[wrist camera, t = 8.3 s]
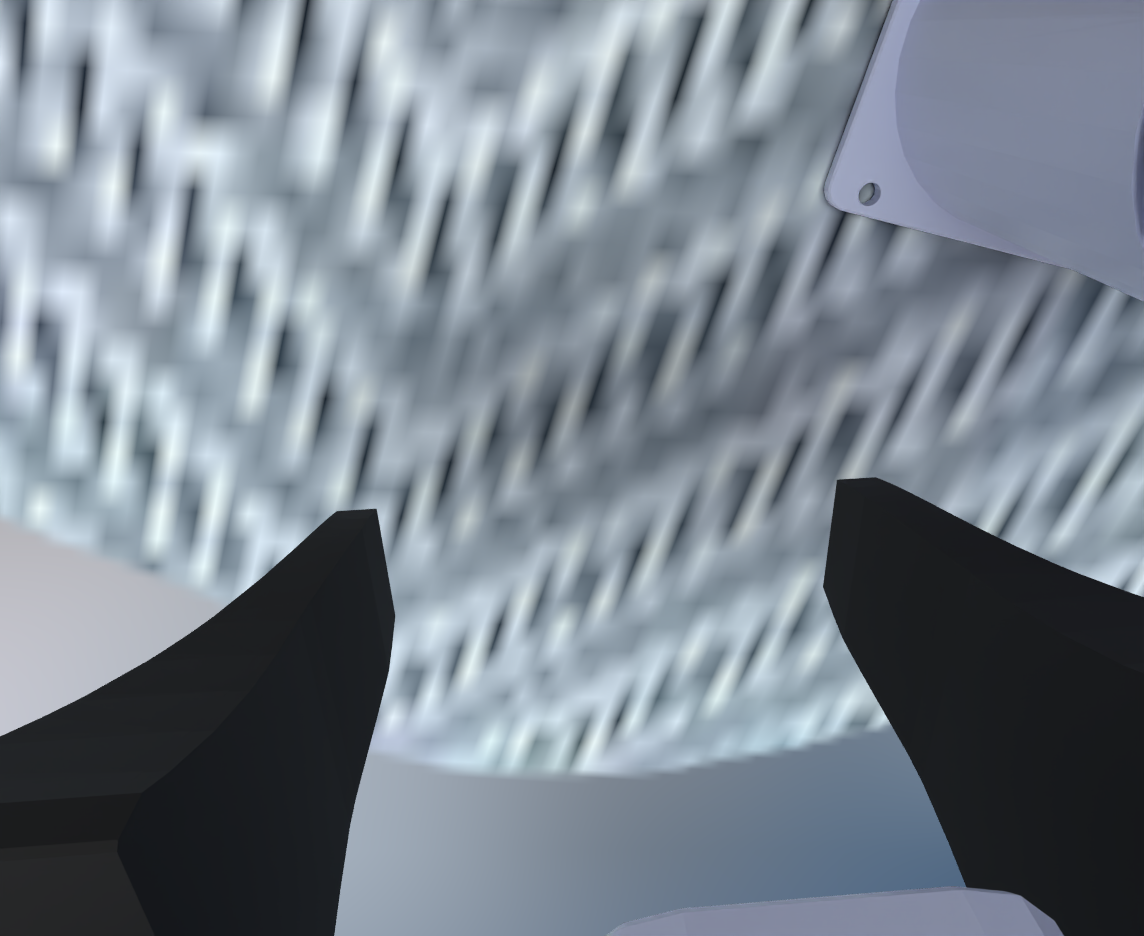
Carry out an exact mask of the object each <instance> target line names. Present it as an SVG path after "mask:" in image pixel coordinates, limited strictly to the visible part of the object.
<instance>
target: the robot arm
mask: <svg viewBox="0 0 1144 936" xmlns="http://www.w3.org/2000/svg"><path fill="white" fill-rule="evenodd" d="M867 183H873V184H874V187H875V192H874V195H873V197H872V198H871V199H870V200H869V201H867V202H865V203H860V201H859V199H858V196H859V191H860V190H861V188H862V187H863V186H864V185H866V184H867ZM824 193H825V198H826V200H827V201H828V202H829V204H830V205H832V206H833V207H835V208H837V209H839V210H841V211H845V212H849V213H853V214H857V215H861V216H865V217H869V218H872V219H876V220H880V221H884V222H888V223H892V224H896V225H900V226H904V227H908V228H912V229H915V230H919V231H923V232H927V233H931V234H935V235H939V236H943V237H947V238H951V239H955V240H958V241H962V242H966V243H970V244H974V245H978V246H982V247H986V248H990V249H994V250H998V251H1001V252H1005V253H1009V254H1013V255H1017V256H1021V257H1025V258H1029V259H1033V260H1037V261H1040V262H1044V263H1048V264H1052V265H1056V266H1060V267H1064V268H1068V269H1072V270H1074V271H1076V272H1079V273H1081V274H1083V275H1085V276H1088V277H1090V278H1092V279H1094V280H1097V281H1099V282H1101V283H1103V284H1106V285H1108V286H1110V287H1112V288H1114V289H1117V290H1119V291H1121V292H1123V293H1126V294H1128V295H1130V296H1132V297H1135V298H1137V299H1139V300H1141V301H1144V0H893V2H892V4H891V7H890V10H889V12H888V15H887V18H886V20H885V23H884V26H883V28H882V31H881V34H880V36H879V39H878V42H877V45H876V47H875V50H874V53H873V55H872V58H871V61H870V63H869V66H868V69H867V71H866V74H865V77H864V79H863V82H862V85H861V88H860V90H859V93H858V96H857V98H856V101H855V104H854V106H853V109H852V112H851V114H850V117H849V120H848V123H847V125H846V128H845V131H844V133H843V136H842V139H841V141H840V144H839V147H838V149H837V152H836V155H835V157H834V160H833V163H832V166H831V168H830V171H829V174H828V176H827V179H826V182H825V187H824ZM823 588H824V591H825V593H826V596H827V599H828V602H829V604H830V607H831V610H832V613H833V615H834V618H835V620H836V623H837V625H838V628H839V630H840V633H841V635H842V638H843V640H844V642H845V644H846V645H847V647H848V649H849V651H850V653H851V655H852V656H853V658H854V660H855V662H856V664H857V665H858V667H859V669H860V671H861V673H862V674H863V676H864V678H865V680H866V682H867V683H868V685H869V687H870V689H871V690H872V692H873V694H874V696H875V697H876V699H877V701H878V702H879V704H880V706H881V708H882V709H883V711H884V713H885V715H886V716H887V718H888V720H889V722H890V724H891V725H892V727H893V729H894V730H895V732H896V734H897V736H898V737H899V739H900V741H901V743H902V744H903V746H904V748H905V750H906V752H907V753H908V755H909V757H910V759H911V760H912V763H913V765H914V767H915V769H916V770H917V772H918V775H919V776H920V778H921V780H922V783H923V785H924V787H925V789H926V792H927V794H928V796H929V798H930V801H931V803H932V805H933V807H934V810H935V812H936V815H937V817H938V819H939V822H940V824H941V826H942V829H943V831H944V833H945V835H946V838H947V840H948V842H949V845H950V847H951V850H952V852H953V855H954V857H955V860H956V862H957V865H958V867H959V870H960V872H961V875H962V877H963V880H964V882H965V885H966V887H967V888H966V887H956V886H951V887H937V888H925V889H913V890H901V891H888V892H876V893H864V894H852V895H840V896H827V897H815V898H803V899H791V900H779V901H767V902H754V903H743V904H730V905H718V906H706V907H693V908H681V909H677V910H673V911H669V912H665V913H661V914H657V915H653V916H649V917H645V918H641V919H637V920H633V921H629V922H625V923H623V924H621V925H620V926H618V927H617V928H616V929H614V930H613V931H611V932H610V933H609V934H607V935H606V936H1144V597H1141V596H1138V595H1135V594H1132V593H1129V592H1127V591H1124V590H1121V589H1119V588H1116V587H1113V586H1110V585H1108V584H1105V583H1102V582H1100V581H1097V580H1094V579H1092V578H1089V577H1086V576H1084V575H1081V574H1078V573H1076V572H1074V571H1071V570H1069V569H1066V568H1064V567H1061V566H1059V565H1057V564H1054V563H1052V562H1050V561H1048V560H1045V559H1043V558H1041V557H1039V556H1036V555H1034V554H1032V553H1030V552H1028V551H1025V550H1023V549H1021V548H1019V547H1016V546H1014V545H1012V544H1010V543H1008V542H1006V541H1004V540H1002V539H1000V538H998V537H996V536H994V535H991V534H989V533H987V532H985V531H983V530H981V529H979V528H977V527H976V526H974V525H972V524H970V523H968V522H966V521H964V520H962V519H960V518H958V517H956V516H954V515H952V514H950V513H948V512H946V511H944V510H942V509H941V508H939V507H937V506H935V505H933V504H931V503H929V502H927V501H925V500H923V499H921V498H919V497H917V496H915V495H913V494H911V493H909V492H907V491H905V490H903V489H901V488H899V487H897V486H895V485H893V484H891V483H888V482H886V481H884V480H881V479H878V478H876V477H875V478H859V479H843V480H837V485H836V493H835V500H834V508H833V516H832V523H831V531H830V538H829V546H828V553H827V561H826V569H825V576H824V584H823ZM394 622H395V612H394V606H393V600H392V595H391V589H390V583H389V577H388V572H387V566H386V560H385V554H384V549H383V543H382V537H381V532H380V526H379V520H378V514H377V509H365V510H349V511H337V512H335V513H334V514H333V515H332V516H330V517H329V518H328V519H327V520H326V521H325V522H323V523H322V524H321V525H320V526H319V527H318V528H317V529H316V530H315V531H313V532H312V533H311V534H310V535H309V536H308V537H307V538H306V539H305V540H304V541H303V542H301V543H300V544H299V545H298V546H297V547H296V548H295V549H294V550H293V551H292V552H290V553H289V554H288V555H287V556H286V557H285V558H284V559H283V560H281V561H280V562H279V563H278V564H277V565H276V566H275V567H274V568H272V569H271V570H270V571H269V572H268V573H267V574H266V575H265V576H263V577H262V578H261V579H260V580H259V581H257V582H256V583H255V584H254V585H252V586H251V587H250V588H249V589H247V590H246V591H245V592H244V593H242V594H241V595H240V596H239V597H237V598H236V599H235V600H234V601H232V602H231V603H230V604H229V605H227V606H226V607H225V608H224V609H222V610H221V611H220V612H219V613H217V614H216V615H215V616H214V617H212V618H211V619H210V620H208V621H207V622H205V623H204V624H203V625H201V626H200V627H198V628H197V629H196V630H194V631H193V632H191V633H190V634H188V635H187V636H185V637H184V638H183V639H181V640H179V641H178V642H176V643H175V644H173V645H172V646H170V647H169V648H167V649H166V650H164V651H163V652H161V653H159V654H158V655H156V656H155V657H153V658H151V659H150V660H149V661H147V662H145V663H143V664H141V665H140V666H138V667H136V668H134V669H133V670H131V671H129V672H127V673H125V674H124V675H122V676H120V677H118V678H117V679H115V680H113V681H111V682H109V683H108V684H106V685H104V686H102V687H100V688H99V689H97V690H95V691H93V692H92V693H90V694H88V695H86V696H85V697H82V698H80V699H79V700H77V701H75V702H73V703H71V704H68V705H67V706H64V707H62V708H60V709H58V710H56V711H54V712H52V713H50V714H48V715H46V716H44V717H42V718H40V719H38V720H35V721H33V722H31V723H29V724H27V725H24V726H22V727H20V728H18V729H16V730H14V731H11V732H9V733H7V734H5V735H2V736H0V936H334V933H335V925H336V918H337V917H336V916H337V910H338V903H339V895H340V888H341V881H342V874H343V868H344V862H345V855H346V848H347V842H348V834H349V828H350V823H351V818H352V814H353V809H354V804H355V800H356V795H357V792H358V788H359V784H360V780H361V776H362V772H363V769H364V764H365V761H366V757H367V754H368V750H369V746H370V742H371V739H372V735H373V731H374V727H375V723H376V720H377V716H378V712H379V708H380V704H381V700H382V696H383V692H384V688H385V685H386V680H387V676H388V672H389V665H390V658H391V650H392V641H393V632H394Z"/></svg>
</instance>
